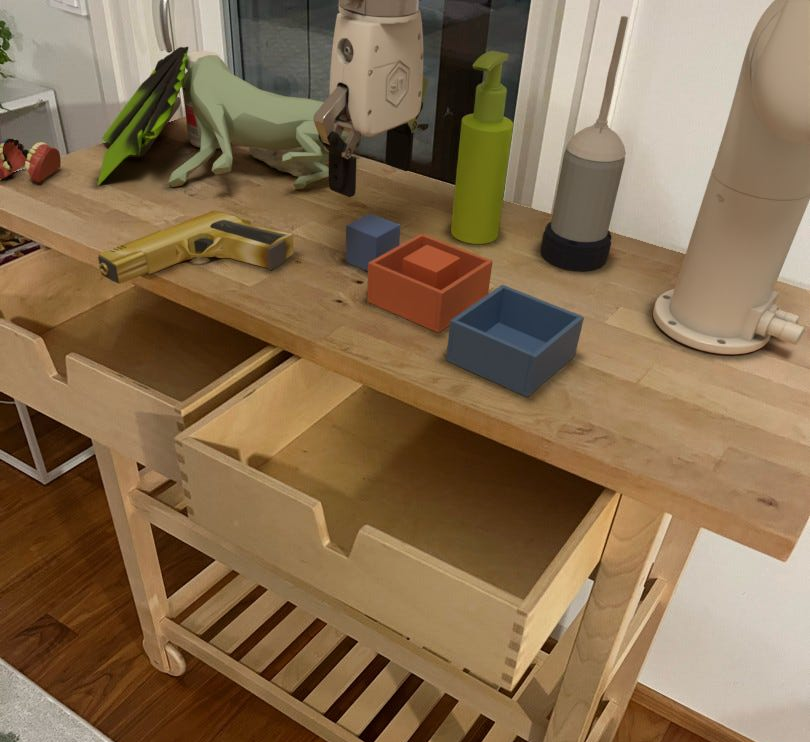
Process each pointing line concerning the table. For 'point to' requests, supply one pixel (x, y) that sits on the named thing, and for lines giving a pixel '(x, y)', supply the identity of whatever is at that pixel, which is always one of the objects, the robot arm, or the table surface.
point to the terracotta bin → (420, 298)
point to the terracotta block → (432, 267)
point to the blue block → (370, 239)
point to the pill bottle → (189, 111)
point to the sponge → (280, 160)
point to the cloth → (145, 111)
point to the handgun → (197, 246)
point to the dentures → (28, 159)
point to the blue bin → (513, 339)
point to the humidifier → (587, 188)
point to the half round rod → (146, 147)
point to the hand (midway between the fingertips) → (370, 179)
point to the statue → (249, 122)
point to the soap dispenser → (483, 158)
